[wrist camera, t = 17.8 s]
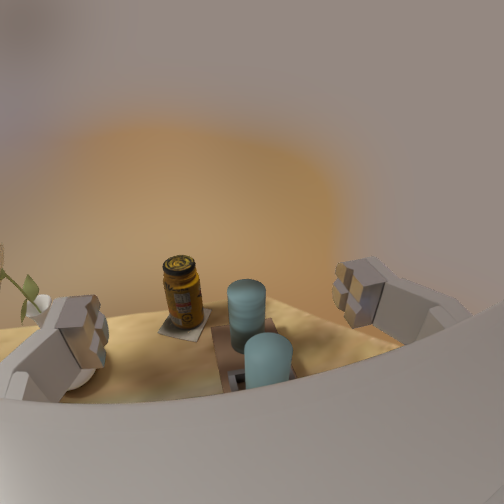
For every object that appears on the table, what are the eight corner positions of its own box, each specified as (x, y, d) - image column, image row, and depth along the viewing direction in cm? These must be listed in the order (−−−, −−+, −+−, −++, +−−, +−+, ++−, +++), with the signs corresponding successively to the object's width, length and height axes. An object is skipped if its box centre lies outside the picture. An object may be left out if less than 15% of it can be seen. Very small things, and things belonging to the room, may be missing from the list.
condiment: (212, 310, 54) (206, 253, 48) (196, 342, 47) (186, 283, 41) (176, 304, 55) (166, 249, 49) (157, 334, 48) (142, 277, 42)
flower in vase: (53, 345, 43) (-1, 220, 30) (105, 344, 45) (59, 207, 33) (36, 402, 32) (-48, 267, 19) (95, 406, 34) (15, 257, 21)
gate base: (312, 428, 33) (331, 373, 26) (236, 446, 31) (229, 396, 24) (270, 328, 50) (273, 266, 43) (212, 338, 48) (204, 276, 41)
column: (278, 419, 32) (284, 373, 27) (240, 407, 33) (236, 360, 28) (290, 388, 36) (298, 338, 31) (254, 378, 37) (254, 327, 32)
